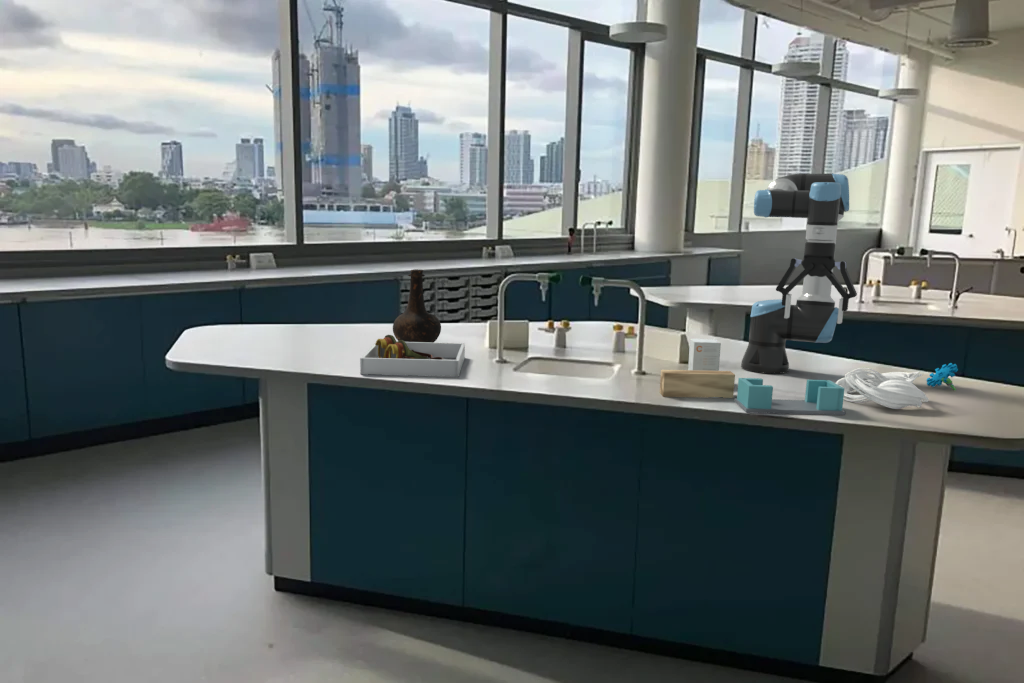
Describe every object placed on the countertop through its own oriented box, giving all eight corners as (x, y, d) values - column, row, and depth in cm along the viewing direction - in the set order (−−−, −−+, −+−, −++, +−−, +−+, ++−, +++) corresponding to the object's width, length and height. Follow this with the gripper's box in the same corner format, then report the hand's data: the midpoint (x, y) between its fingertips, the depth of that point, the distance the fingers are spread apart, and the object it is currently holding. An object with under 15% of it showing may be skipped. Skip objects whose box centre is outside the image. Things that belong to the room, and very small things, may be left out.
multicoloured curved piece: (468, 367, 246) (468, 336, 244) (413, 378, 228) (413, 345, 226) (417, 355, 261) (417, 327, 260) (363, 365, 244) (362, 335, 242)
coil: (861, 389, 231) (863, 359, 229) (944, 405, 211) (947, 372, 210) (814, 401, 216) (817, 369, 214) (899, 419, 197) (902, 384, 195)
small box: (712, 379, 235) (716, 338, 233) (718, 384, 229) (721, 342, 227) (686, 379, 235) (689, 338, 233) (691, 384, 229) (694, 341, 227)
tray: (377, 355, 259) (377, 341, 258) (464, 357, 259) (464, 343, 258) (360, 374, 231) (360, 358, 230) (458, 376, 231) (458, 360, 230)
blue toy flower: (921, 376, 240) (949, 357, 236) (933, 390, 240) (962, 371, 236) (930, 389, 229) (960, 369, 226) (943, 403, 230) (973, 383, 226)
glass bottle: (420, 351, 267) (420, 272, 262) (382, 345, 277) (381, 269, 272) (450, 344, 282) (451, 269, 277) (414, 339, 291) (414, 266, 286)
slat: (659, 393, 217) (660, 369, 216) (728, 394, 218) (730, 371, 217) (662, 397, 213) (664, 373, 212) (733, 398, 214) (735, 374, 212)
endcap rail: (734, 401, 209) (736, 377, 208) (827, 404, 209) (830, 379, 208) (746, 412, 198) (748, 386, 197) (844, 415, 198) (847, 389, 197)
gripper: (768, 239, 204) (762, 317, 208) (869, 244, 191) (860, 327, 195) (776, 238, 210) (769, 314, 214) (873, 243, 197) (864, 323, 201)
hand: (812, 320), depth 204 cm, fingers open, 13 cm apart
